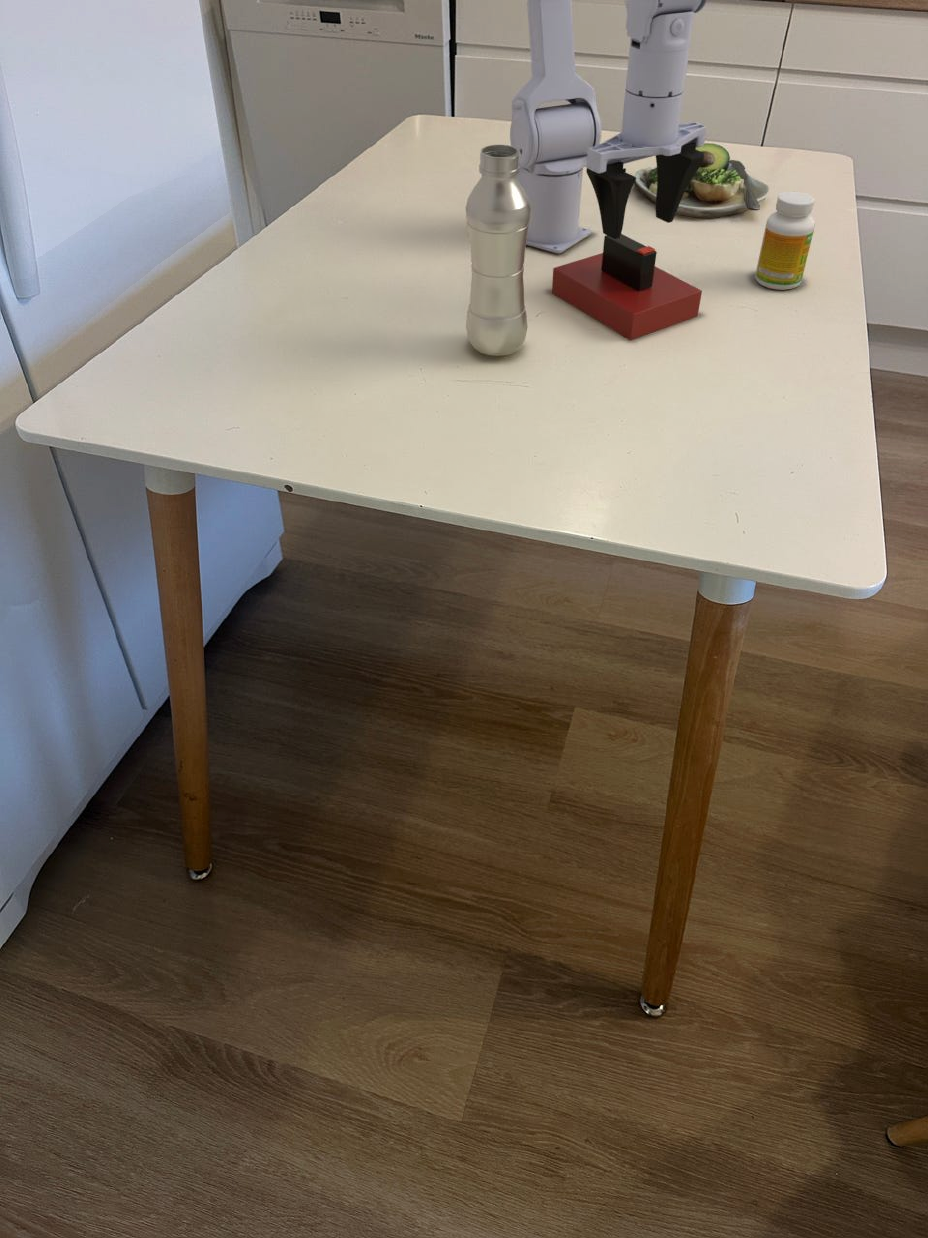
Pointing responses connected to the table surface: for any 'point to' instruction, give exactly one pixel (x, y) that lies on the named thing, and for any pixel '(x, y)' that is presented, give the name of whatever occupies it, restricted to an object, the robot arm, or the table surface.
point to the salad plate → (711, 186)
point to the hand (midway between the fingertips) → (638, 227)
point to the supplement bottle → (786, 242)
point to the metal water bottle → (497, 253)
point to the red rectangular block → (625, 298)
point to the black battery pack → (629, 261)
